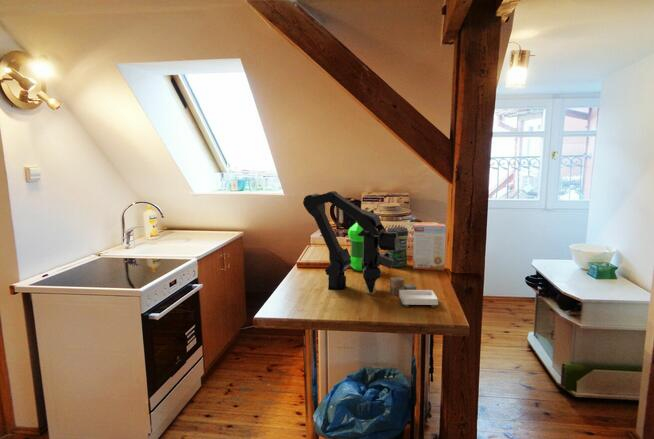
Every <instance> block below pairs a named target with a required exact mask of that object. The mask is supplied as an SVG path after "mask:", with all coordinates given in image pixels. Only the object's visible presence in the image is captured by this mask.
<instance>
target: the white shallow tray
mask: <svg viewBox="0 0 654 439" xmlns="http://www.w3.org/2000/svg"><path fill="white" fill-rule="evenodd" d="M398 297H399V299H400V302H401V304H402V305H404V307H405V308H409V306H410V305H413V306H414V305H417V306H418V305H421V306H423V305H425V306H427V305H428V306H429V305H430V306H431V308H432V309H434V308H435V307H436V306H438V305H439V298H438V297H437V295H436V294H435V292H434V290H432V289H416V290H399V295H398Z"/></svg>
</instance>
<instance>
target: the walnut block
mask: <svg viewBox="0 0 654 439" xmlns="http://www.w3.org/2000/svg"><path fill="white" fill-rule="evenodd" d="M404 286H405V279H404V278H402V277H400V276H396V277H395V276H394V277H390V278H389V292H390V294H392V295H393V296H399V290H404Z"/></svg>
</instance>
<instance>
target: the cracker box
mask: <svg viewBox="0 0 654 439" xmlns="http://www.w3.org/2000/svg"><path fill="white" fill-rule="evenodd" d="M413 225H414V226H413V253H412V254H413V255H412V256H413V257H412V258H413V259H412V261H413V262H412V269H413V270H428V271H431V270H432V271H445V266H446V265H445V263H446V262H445V261H446V237H447V236H446V231H447V225H446V224H445V223H433V222H432V223H431V222H429V223H428V222H427V223H426V222H424V223H423V222H422V223H420V222H414V224H413Z"/></svg>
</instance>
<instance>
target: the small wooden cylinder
mask: <svg viewBox="0 0 654 439" xmlns="http://www.w3.org/2000/svg"><path fill="white" fill-rule="evenodd" d="M376 282H377V280H376V281H375V285H374V289H373V292H372V293H370V292H369V290H368V287H367V285H366V282H365V281H364V294H366V295H368V296H369V295H375V294H376V292H377V290H376V289H377V288H376V287H377V286H376V284H377V283H376Z"/></svg>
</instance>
